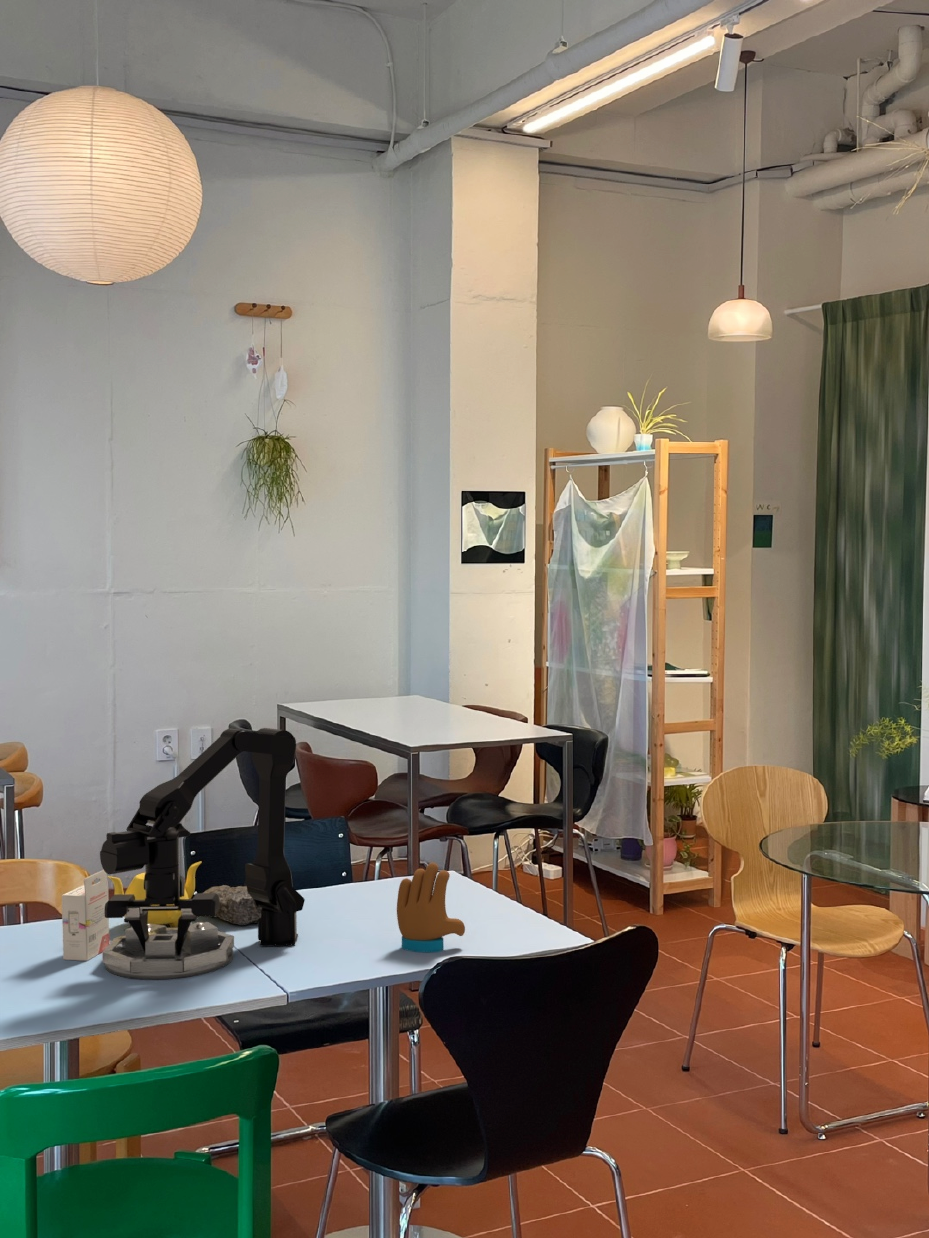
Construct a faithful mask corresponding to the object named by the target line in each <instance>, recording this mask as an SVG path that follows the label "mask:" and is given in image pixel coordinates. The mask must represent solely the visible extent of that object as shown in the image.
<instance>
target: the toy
mask: <svg viewBox="0 0 929 1238" xmlns="http://www.w3.org/2000/svg"><path fill="white" fill-rule="evenodd" d="M449 879H450V872H449V871H447V870H445V869H442V870H440V871H439V866H438V864H437V863H435V862H430V863H428V865H427V866H426V868H425V869H424V868H418V869H416V870H415V871H414V873H413V875H412V879H410V878H408V877H407V878H403V879H402V880H401V881H400V884H399V886H398V887H399V888H398V891H397V901H396V919H397V925H398V929H399V931H400V934H401V949H403V950H406V951H410V952H415V953H416V952H417V953H438V952H442V951H444V937H445V936H447V935H451V934H456V935H458V937H459V936H460V937H463V936H464V934H465V932H466V927H465V924H464V922H463V920H461V919H459V918H450V917H448V914H447V910H446V909H447V908H446V894H447V885H448V883H449Z"/></svg>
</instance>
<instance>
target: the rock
mask: <svg viewBox="0 0 929 1238" xmlns="http://www.w3.org/2000/svg"><path fill="white" fill-rule="evenodd" d="M203 893H216V894H217V895H218V896H219V898H220V909H219V910H218V912H217V913H216V915H215V916H209V917H210V918H219V919H220V920H224V921H226V922H229V923H230V924H233V925H234V924H237V925H240V926H245V925H248V924H251V923H253V924H256V923H257V924H258V918H259V916H260V915H261V910H262V908H261V907H256V906H255V903H254V900H253V898H252V897H251V896H250V895H249V894H248V892H247V886H245V885H244V886H242V885H240V886H239V885H238V886H236V887H234V886H232V887H231V886H229V885H226V884H225V885H224V884H223V885H219V886H211V887H210V888H208V889H205V891H204V892H203Z"/></svg>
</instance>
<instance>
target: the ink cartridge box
mask: <svg viewBox="0 0 929 1238" xmlns="http://www.w3.org/2000/svg"><path fill="white" fill-rule="evenodd" d="M107 876H108V874H107V873H106V872H105V871H104V869H102V870H100V871H97V872H95V873H93V874H91V875H90V876H87V877H85V878H83V884H82V885H80V886H78V887H77V888H73V889H72V890H70V891H68V892H66V893H64V894H61V915H62V916H61V918H62V923H61V924H62V952H63V953H62V954H63V955H62V959H63V960H64V961H65V960H66V961H67V960H68V961H81V962H83V961H84V962H85V961H86V962H87V961H90V960H91V959H93V958H94V957H96V956H97V955H99V954H101V953H102V952H103V950H104V949H105V948H106V947H107V946H108V945H109V944H110V918H105V904H106V903H107V902H108V901H109V884H108V877H107ZM98 879H99V881H98V882H96V883H94V884H93V882H95V880H98Z"/></svg>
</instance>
